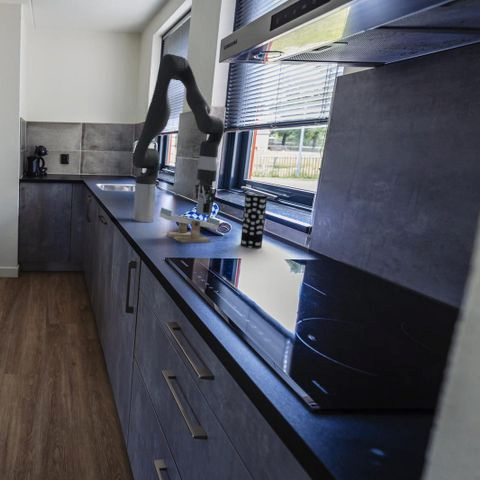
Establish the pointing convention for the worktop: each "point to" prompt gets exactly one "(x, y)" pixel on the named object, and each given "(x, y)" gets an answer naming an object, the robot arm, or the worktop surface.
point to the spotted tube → (253, 220)
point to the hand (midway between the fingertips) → (203, 211)
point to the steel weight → (201, 207)
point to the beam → (188, 219)
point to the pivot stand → (188, 233)
